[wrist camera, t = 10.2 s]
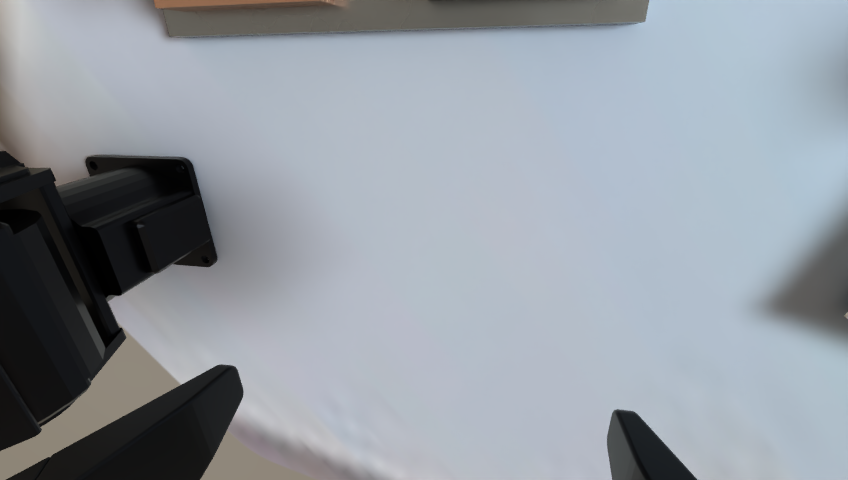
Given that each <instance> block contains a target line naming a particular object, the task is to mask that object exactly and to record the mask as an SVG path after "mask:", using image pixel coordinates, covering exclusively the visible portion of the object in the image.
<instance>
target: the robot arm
mask: <svg viewBox="0 0 848 480" xmlns="http://www.w3.org/2000/svg"><path fill="white" fill-rule="evenodd" d="M85 163H86V167H87V169H88V172H89V174H90V177H88V178H84V179H81V180H78V181H74V182H71V183H67V184H64V185H61V186H57V187H56V186H55V184H54V181H56V179H55V177H54V175H53V173H52V171H51V168H27V167H25V165H24V163H20V162H19V161H17V160H16V159H15V158H14V157H12V156H11V155H10V154H8V153H7V152H6V151H0V451H1V450H3V449H6V448H8V447H11V446H13V445H16V444H18V443H20V442H23V441H25V440H28V439H30V438H32V437H35V436H36V435H38V434H39V433H40V432H41V430H42V429H41V428H40V427H41V426H42V425H45V424H46V423H48V422H49V421H51V420H52V419H54V418H56V417H57V416H58V415H60V414H61V413H62V412H63V411H65V410H66V409H67V408H68V407H70V405H71V404H72V403H73V402H74V401H75V400H76V399H77V398H78V397H80V396H81V395H82V394H83V393H84V392H86V390H87V389H88V388H89V386H90V385H91V381H92V380H93V378H94V377H95V376H96V375H97V374H98V372H99V371H100V370H101V369H102V367H103V366H104V365H105V364H106V362H107V361H108V360H109V359H110V357H111V356H112V355H113V354H114V353H115V351H116V350H117V349H118V347H119V346H120V345H121V344H122V343H123V342H124V340H125V339H126V336H125V334H124V331H123V329H122V328H119V326H118V323H117V321H116V319H115V317H114V315H113V312H112V310H111V308H110V306H109V303H108V301H109V300H111V299H113V298H114V297H116V296H120V295H122V294H124V293H125V292H127V291H129V290H130V289H132V288H133V287H135V286H137V285H138V284H140V283H141V282H143V281H145V280H146V279H148V278H149V277H151V276H153V275H154V274H157V273H159V272H161V271H163V270H164V269H166V268H167V267H169V266H171V265H172V264H176V265H188V266H201V267H210V266H212V265H213V264H215V263H216V262H217V255H216V251H215V247H214V243H213V239H212V236H211V232H210V228H209V224H208V221H207V217H206V213H205V209H204V205H203V202H202V198H201V194H200V190H199V186H198V183H197V179H196V175H195V171H194V167H193V165H192V163H191V162H190V161H189V160H188V159H186V158H181V157H145V156H109V155H95V156H91V157H88V158H87V159H86V161H85ZM181 165H182V166H183V167H184V170H183V169H182V167H181ZM207 257H208V259H209V260H208V259H207ZM242 397H243V387H242V383H241V380H240V377H239V373H238V370H237V368H236V367H235V366H231V365H217V366H215V367H213V368H212V369H210V370H208V371H206V372H204V373H202V374H200V375H199V376H197V377H195V378H193V379H191V380H189V381H188V382H186V383H184V384H182V385H180V386H178V387H177V388H175V389H173V390H171V391H169V392H167V393H165V394H164V395H162V396H160V397H158V398H156V399H154V400H153V401H151V402H149V403H147V404H145V405H143V406H142V407H140V408H138V409H136V410H134V411H132V412H131V413H129V414H127V415H125V416H123V417H121V418H120V419H118V420H116V421H114V422H112V423H110V424H108V425H107V426H105V427H103V428H101V429H99V430H98V431H95V432H94V433H92V434H90V435H88V436H86V437H85V438H83V439H81V440H79V441H77V442H75V443H73V444H72V445H70V446H68V447H66V448H64V449H62V450H61V451H59V452H57V453H55V454H53V455H52V456H51V457H48V458H46V459H44V460H42V461H40V462H38V463H37V464H35V465H33V466H31V467H29V468H27V469H25V470H24V471H22V472H20V473H18V474H16V475H14V476H12V477H10V478H8V479H6V480H200V479H201V477H202V476H203V474H204V472H205V470H206V469H207V467H208V465H209V464H210V462H211V460H212V459H213V457H214V455H215V453H216V451H217V449H218V447H219V445H220V443H221V441H222V439H223V437H224V435H225V433H226V431H227V429H228V427H229V425H230V423H231V421H232V419H233V417H234V415H235V413H236V411H237V409H238V406H239V404H240V402H241V400H242ZM607 448H608V454H609V461H610V468H611V474H612V480H697V479H696V478H695V477H694V475H693V474H692V473H691V472H690V471H689V470H688V469H687V468H686V467H685V466H684V465H683V463H682V462H681V461H680V460H679V459H678V458H677V457H676V456H675V455H674V454H673V452H672V451H671V450H670V449H669V448H668V447H667V446H666V445H665V444H664V443H663V442H662V440H661V439H660V438H659V437H658V436H657V435H656V434H655V433H654V432H653V431H652V430H651V428H650V427H649V426H648V425H647V424H646V423H645V422H644V421H643V420H642V419H641V417H640V416H639V415H638V414H637V413H635V412H633V411H627V410H618V409H617V410H614V411H613V413H612V417H611V421H610V426H609V431H608V435H607Z"/></svg>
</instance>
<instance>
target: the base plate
mask: <svg viewBox="0 0 848 480" xmlns="http://www.w3.org/2000/svg"><path fill="white" fill-rule="evenodd" d="M154 3H155V7H156V8H159V9H163V12H164V16H165V20H166V24H167V28H168V32H169V36H170V37H214V36H246V35H279V34H312V33H345V32H377V31H410V30H443V29H475V28H508V27H541V26H573V25H606V24H637V23H641V22H645V19H646V14H647V9H648V3H649V0H154Z"/></svg>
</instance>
